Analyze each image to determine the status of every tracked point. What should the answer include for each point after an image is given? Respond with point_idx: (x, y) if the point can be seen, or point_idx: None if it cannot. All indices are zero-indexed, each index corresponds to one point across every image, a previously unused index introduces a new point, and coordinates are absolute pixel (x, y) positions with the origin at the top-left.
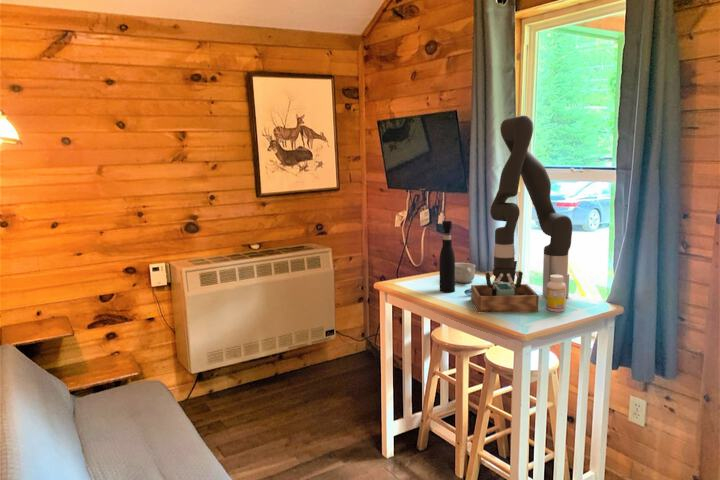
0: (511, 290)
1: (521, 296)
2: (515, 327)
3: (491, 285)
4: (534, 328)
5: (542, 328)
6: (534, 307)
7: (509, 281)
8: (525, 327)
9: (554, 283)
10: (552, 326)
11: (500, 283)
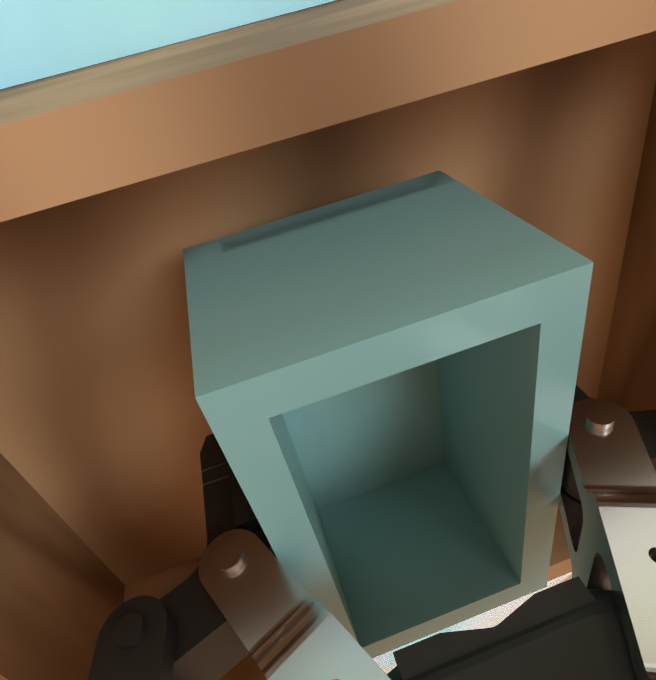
0: (503, 596)
1: (555, 575)
2: (389, 651)
3: (216, 667)
4: (476, 623)
5: (512, 609)
6: None
7: (593, 577)
8: (437, 632)
9: None
10: (567, 574)
11: (389, 350)
